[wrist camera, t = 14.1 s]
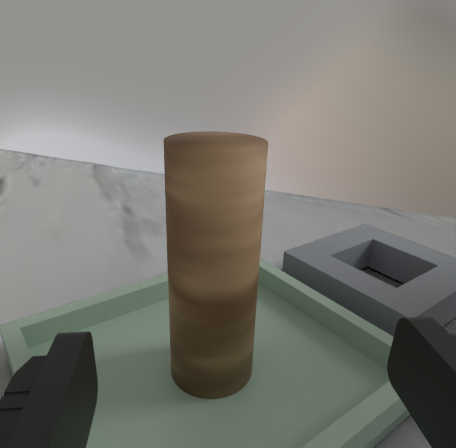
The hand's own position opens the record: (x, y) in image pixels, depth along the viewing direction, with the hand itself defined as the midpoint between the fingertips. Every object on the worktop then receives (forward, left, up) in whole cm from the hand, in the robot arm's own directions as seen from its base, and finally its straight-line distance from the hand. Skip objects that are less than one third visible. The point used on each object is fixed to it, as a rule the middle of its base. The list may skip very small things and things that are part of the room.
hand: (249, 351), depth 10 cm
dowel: (+9, -5, -11) cm, 15 cm away
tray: (+9, -5, -11) cm, 16 cm away
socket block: (+10, -23, -11) cm, 28 cm away
